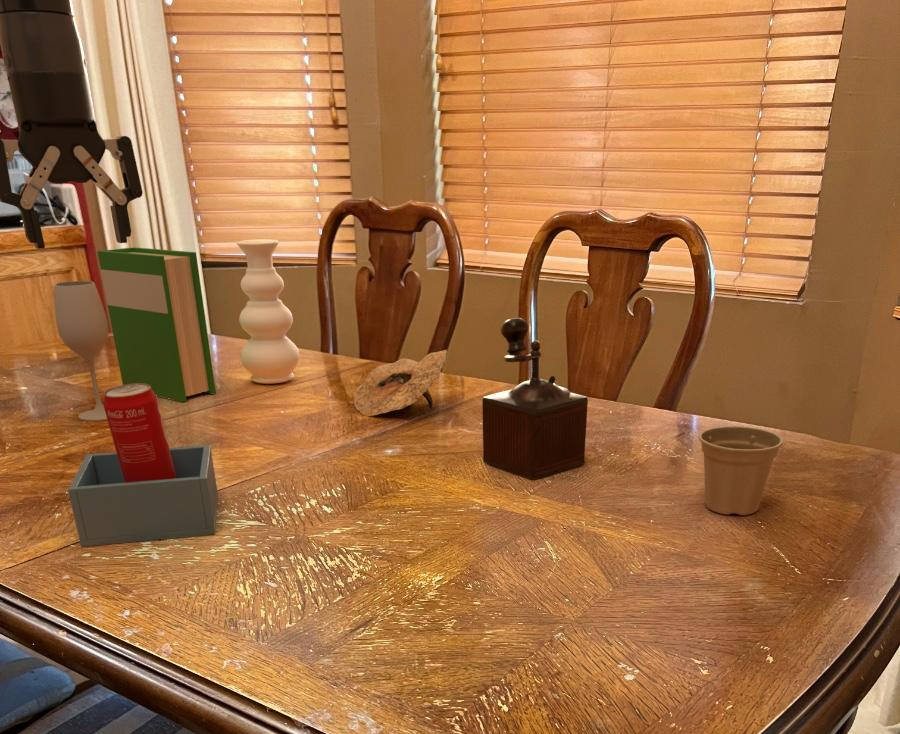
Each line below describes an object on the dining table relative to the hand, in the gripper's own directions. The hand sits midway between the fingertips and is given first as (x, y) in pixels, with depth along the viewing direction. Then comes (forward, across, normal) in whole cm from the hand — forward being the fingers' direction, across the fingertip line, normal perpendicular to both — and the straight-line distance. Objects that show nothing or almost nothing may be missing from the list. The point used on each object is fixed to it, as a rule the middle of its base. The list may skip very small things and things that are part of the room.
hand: (81, 245), depth 93 cm
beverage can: (+30, -1, +7) cm, 30 cm away
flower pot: (+30, -60, +42) cm, 79 cm away
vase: (+30, -39, -52) cm, 72 cm away
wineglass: (+30, -6, -46) cm, 55 cm away
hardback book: (+30, -20, -55) cm, 66 cm away
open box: (+30, -1, +7) cm, 31 cm away
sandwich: (+30, -49, -20) cm, 61 cm away
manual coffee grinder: (+30, -51, +13) cm, 60 cm away
